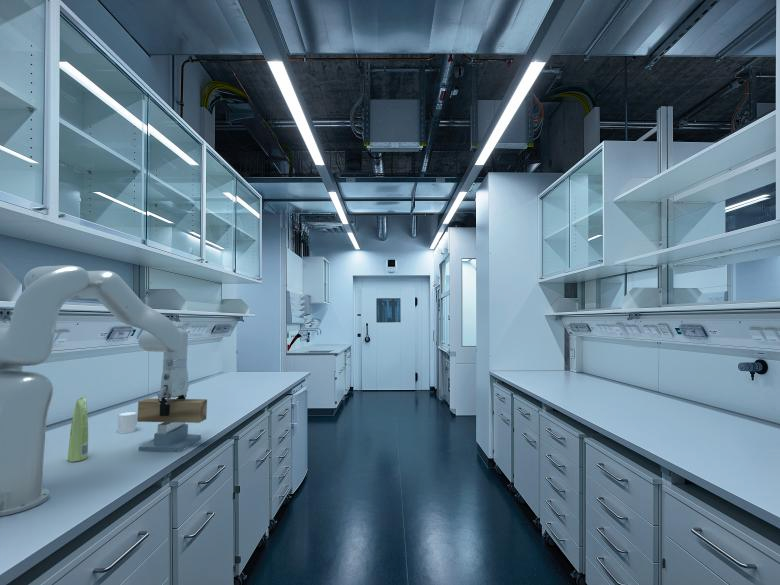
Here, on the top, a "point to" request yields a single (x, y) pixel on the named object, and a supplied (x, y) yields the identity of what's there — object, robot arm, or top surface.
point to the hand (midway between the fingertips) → (172, 412)
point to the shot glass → (127, 422)
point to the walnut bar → (173, 410)
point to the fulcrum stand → (170, 438)
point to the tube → (79, 432)
